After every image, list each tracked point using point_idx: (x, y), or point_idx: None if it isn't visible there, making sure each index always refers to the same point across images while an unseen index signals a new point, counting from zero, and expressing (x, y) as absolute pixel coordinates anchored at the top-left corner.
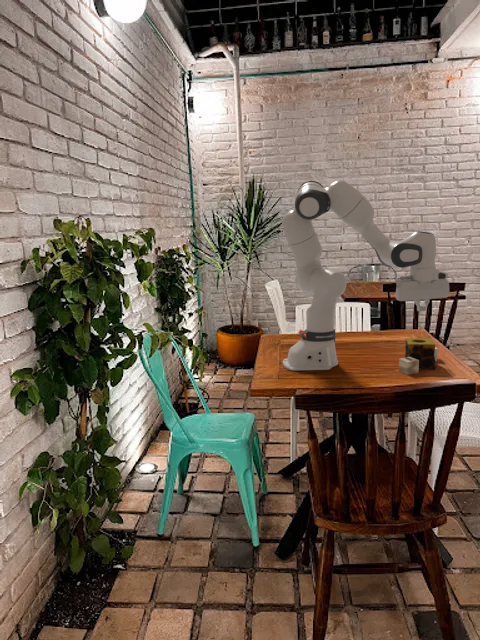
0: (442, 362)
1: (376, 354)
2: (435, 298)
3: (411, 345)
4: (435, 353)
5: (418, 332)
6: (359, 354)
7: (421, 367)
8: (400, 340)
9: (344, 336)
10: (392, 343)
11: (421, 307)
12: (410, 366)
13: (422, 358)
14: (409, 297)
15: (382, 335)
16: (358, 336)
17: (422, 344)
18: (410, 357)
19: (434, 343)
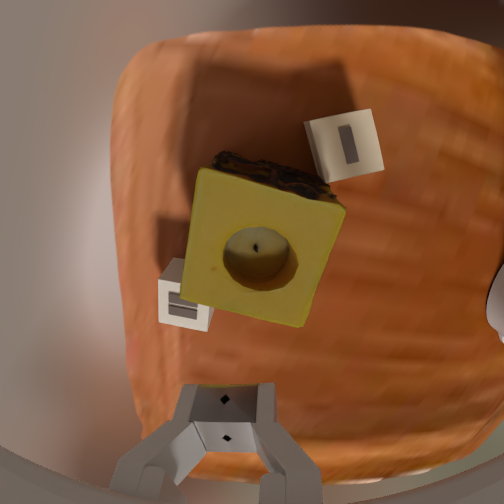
0: (161, 234)
1: (351, 353)
2: (37, 464)
3: (329, 202)
4: (172, 271)
5: None
6: (399, 356)
7: (272, 164)
8: None
9: (342, 467)
10: None
11: (243, 414)
12: (348, 112)
13: (268, 172)
14: (497, 501)
15: (251, 466)
16: None
17: (270, 186)
18: (329, 172)
19: (195, 189)
